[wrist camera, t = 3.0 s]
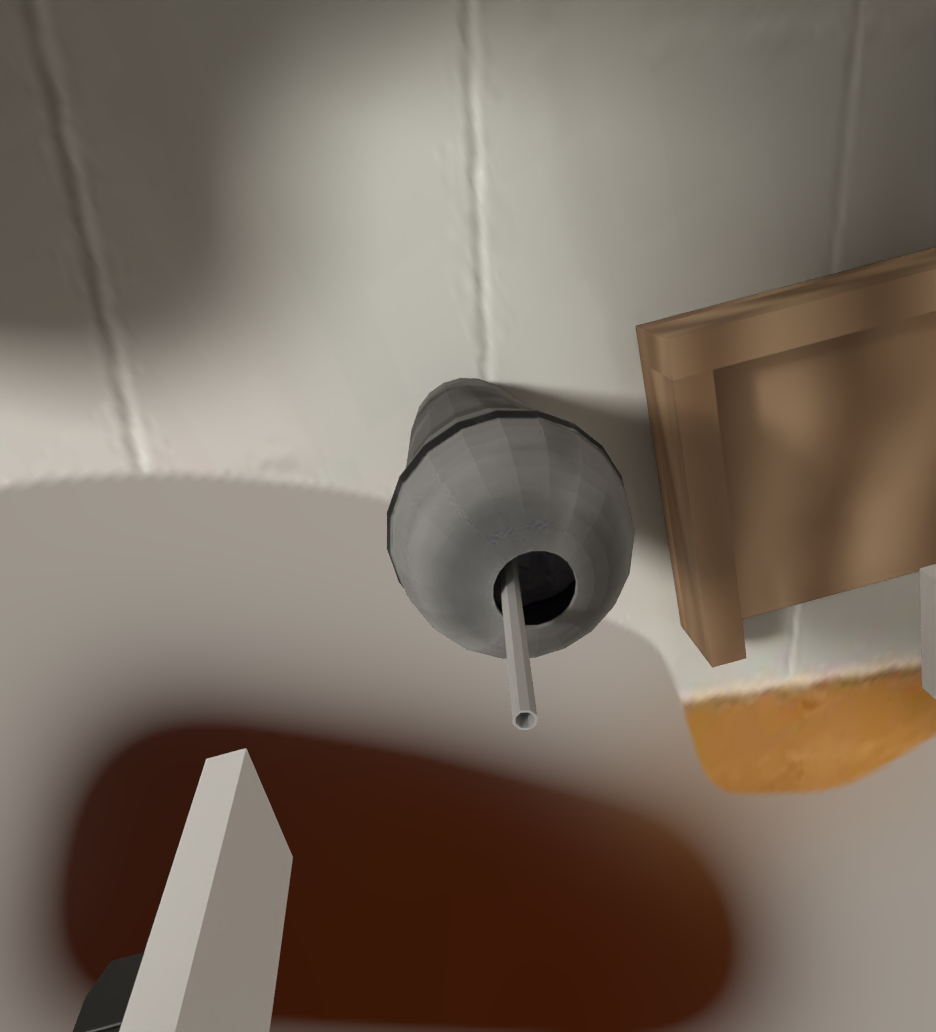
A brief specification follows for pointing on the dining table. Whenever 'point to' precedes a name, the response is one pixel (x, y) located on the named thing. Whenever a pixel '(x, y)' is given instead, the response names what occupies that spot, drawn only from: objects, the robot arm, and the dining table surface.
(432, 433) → the beverage cup
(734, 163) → the dining table surface
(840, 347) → the u rest
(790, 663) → the dining table surface
